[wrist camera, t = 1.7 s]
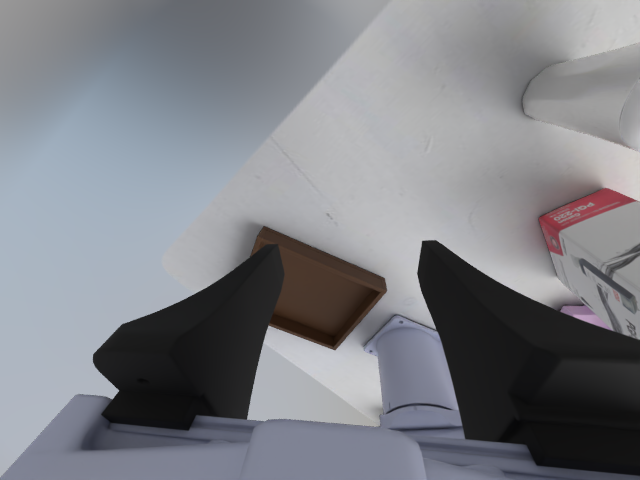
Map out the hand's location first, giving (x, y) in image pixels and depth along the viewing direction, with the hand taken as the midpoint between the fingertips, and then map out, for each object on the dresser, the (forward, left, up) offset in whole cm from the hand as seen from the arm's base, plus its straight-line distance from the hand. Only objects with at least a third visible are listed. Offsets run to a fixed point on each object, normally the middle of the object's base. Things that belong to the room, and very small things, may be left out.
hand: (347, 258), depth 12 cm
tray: (-1, +13, -10) cm, 17 cm away
